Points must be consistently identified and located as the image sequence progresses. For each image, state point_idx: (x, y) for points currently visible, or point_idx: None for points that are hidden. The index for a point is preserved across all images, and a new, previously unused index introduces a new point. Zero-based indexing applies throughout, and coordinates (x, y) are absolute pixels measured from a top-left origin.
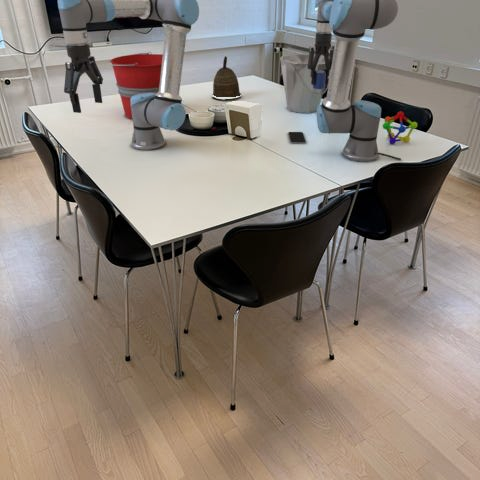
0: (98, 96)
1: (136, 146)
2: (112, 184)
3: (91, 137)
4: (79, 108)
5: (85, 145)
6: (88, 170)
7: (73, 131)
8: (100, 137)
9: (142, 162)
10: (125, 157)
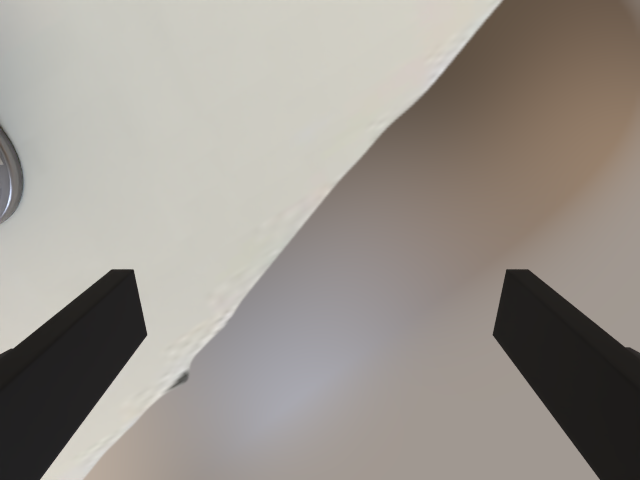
0: (99, 329)
1: (14, 185)
2: (362, 90)
3: None
4: (552, 291)
5: None
6: (279, 243)
7: None
8: None
9: (127, 85)
10: (118, 182)
